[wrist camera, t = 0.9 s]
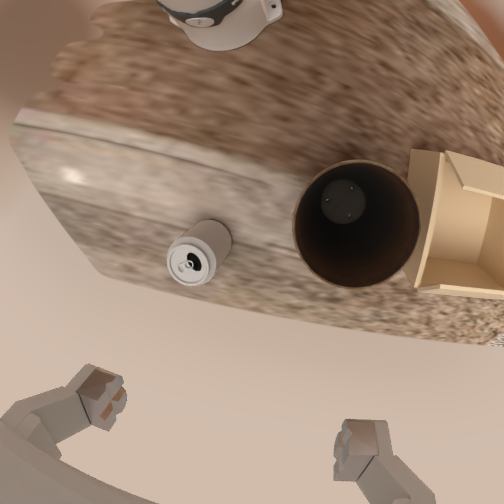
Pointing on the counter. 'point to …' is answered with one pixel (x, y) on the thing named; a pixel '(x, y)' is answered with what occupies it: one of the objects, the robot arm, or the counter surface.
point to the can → (199, 253)
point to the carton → (454, 229)
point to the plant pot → (357, 224)
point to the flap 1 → (477, 174)
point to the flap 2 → (463, 291)
